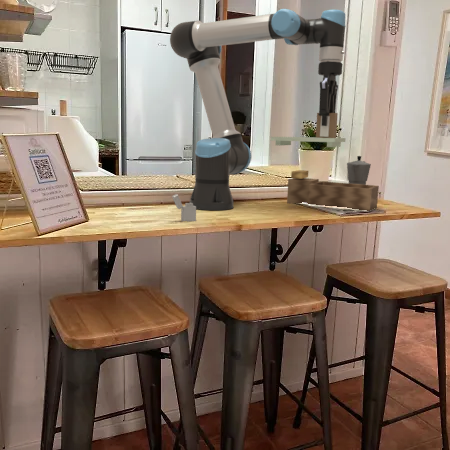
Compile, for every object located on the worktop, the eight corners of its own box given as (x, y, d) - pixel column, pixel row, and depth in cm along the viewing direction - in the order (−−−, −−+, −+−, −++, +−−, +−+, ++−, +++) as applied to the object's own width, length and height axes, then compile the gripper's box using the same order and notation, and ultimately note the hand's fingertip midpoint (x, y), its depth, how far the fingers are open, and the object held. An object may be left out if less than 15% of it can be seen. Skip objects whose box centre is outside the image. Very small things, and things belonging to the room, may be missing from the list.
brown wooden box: (284, 203, 189) (285, 179, 187) (297, 199, 201) (298, 177, 200) (369, 212, 175) (371, 186, 174) (376, 207, 188) (379, 183, 186)
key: (291, 177, 189) (291, 171, 189) (298, 176, 196) (298, 170, 196) (301, 178, 188) (301, 172, 187) (308, 177, 195) (308, 170, 194)
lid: (270, 145, 169) (271, 112, 167) (284, 144, 181) (286, 113, 179) (334, 147, 160) (336, 112, 158) (345, 146, 171) (347, 113, 169)
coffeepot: (362, 204, 193) (366, 157, 190) (338, 202, 198) (342, 155, 195) (373, 200, 206) (377, 155, 203) (350, 198, 211) (354, 154, 208)
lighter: (193, 219, 151) (194, 193, 150) (196, 220, 150) (196, 194, 148) (171, 221, 148) (171, 194, 146) (173, 222, 146) (173, 194, 145)
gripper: (335, 58, 154) (330, 136, 158) (348, 64, 168) (343, 136, 172) (311, 59, 157) (307, 136, 162) (326, 65, 171) (321, 136, 176)
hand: (325, 136), depth 167 cm, fingers closed on lid, 3 cm apart
